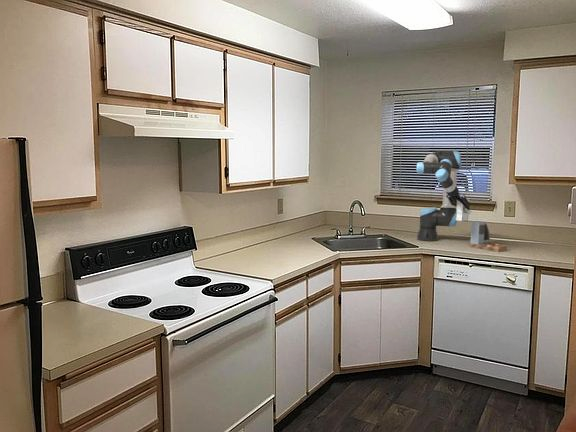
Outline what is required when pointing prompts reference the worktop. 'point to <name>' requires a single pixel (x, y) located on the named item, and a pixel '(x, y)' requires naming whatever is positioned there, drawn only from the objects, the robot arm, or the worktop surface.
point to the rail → (490, 247)
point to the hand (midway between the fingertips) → (465, 212)
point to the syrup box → (461, 212)
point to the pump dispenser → (486, 234)
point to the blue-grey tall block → (477, 232)
